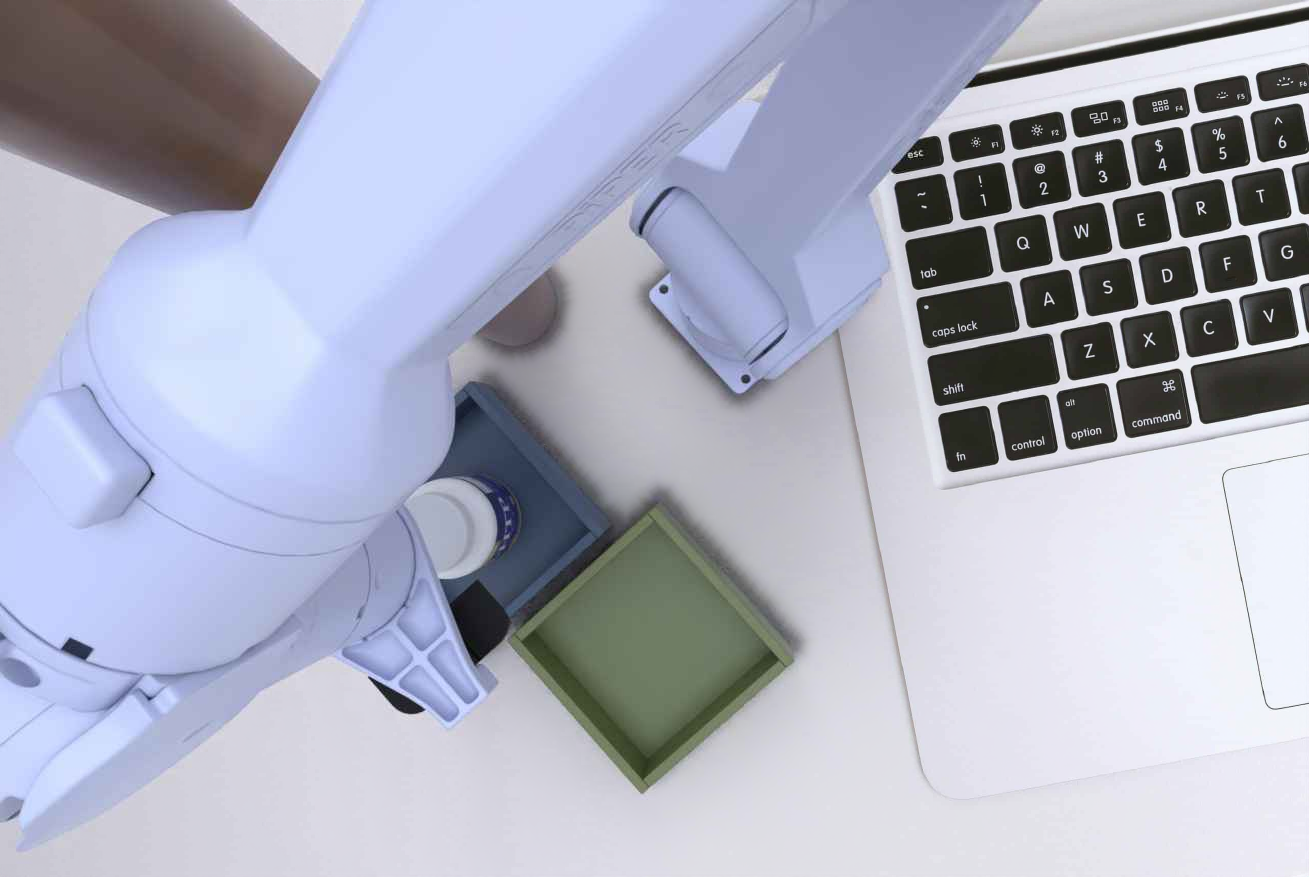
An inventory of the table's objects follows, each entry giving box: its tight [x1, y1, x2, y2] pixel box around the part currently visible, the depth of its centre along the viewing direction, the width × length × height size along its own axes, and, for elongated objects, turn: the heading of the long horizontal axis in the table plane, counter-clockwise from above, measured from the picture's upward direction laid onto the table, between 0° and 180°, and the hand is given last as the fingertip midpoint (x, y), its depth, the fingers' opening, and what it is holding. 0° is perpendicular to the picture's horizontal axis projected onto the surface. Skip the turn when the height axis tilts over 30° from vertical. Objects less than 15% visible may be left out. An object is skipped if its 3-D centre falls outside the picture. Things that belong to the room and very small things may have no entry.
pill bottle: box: [403, 474, 521, 579], centre depth 46 cm, size 5×5×9 cm
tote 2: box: [506, 501, 795, 795], centre depth 49 cm, size 11×11×4 cm
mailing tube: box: [0, 0, 557, 347], centre depth 27 cm, size 5×5×48 cm
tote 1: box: [423, 380, 614, 619], centre depth 49 cm, size 11×11×4 cm
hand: (415, 541), depth 40 cm, fingers open, 7 cm apart
